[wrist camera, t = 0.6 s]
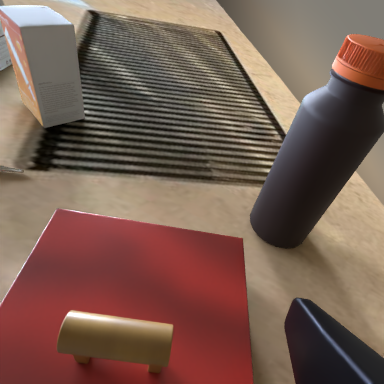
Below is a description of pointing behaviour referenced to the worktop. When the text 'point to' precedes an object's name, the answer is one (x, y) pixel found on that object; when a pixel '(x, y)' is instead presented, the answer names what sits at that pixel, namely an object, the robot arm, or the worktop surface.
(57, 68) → the small box
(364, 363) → the robot arm
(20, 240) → the worktop surface
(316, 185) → the dark bottle
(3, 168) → the tweezers
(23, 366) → the lid
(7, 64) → the white packaging box
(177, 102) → the worktop surface
